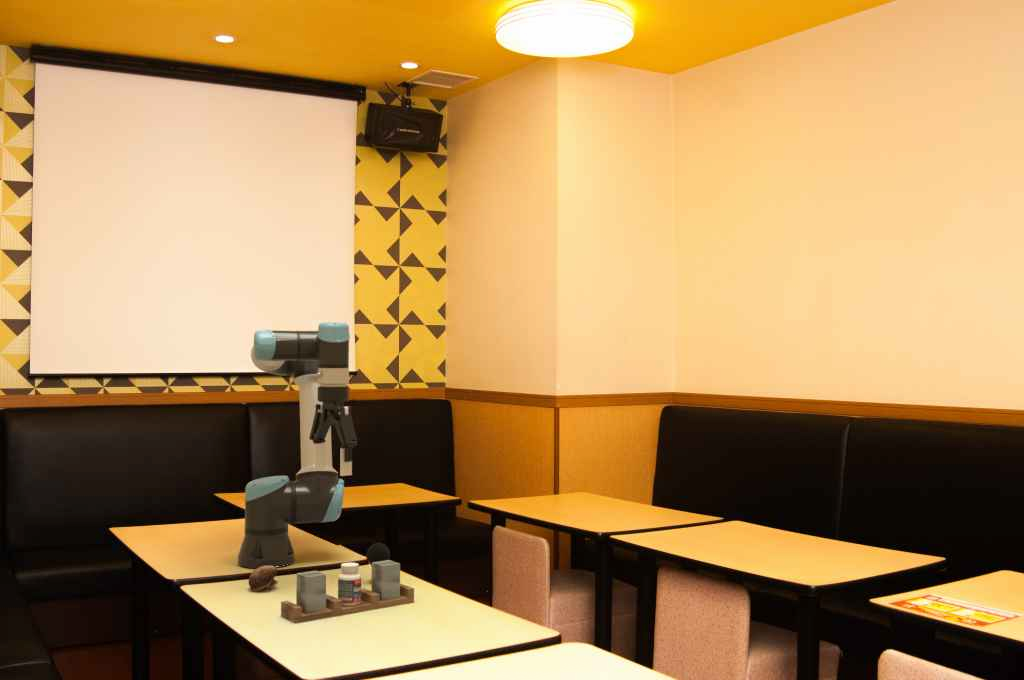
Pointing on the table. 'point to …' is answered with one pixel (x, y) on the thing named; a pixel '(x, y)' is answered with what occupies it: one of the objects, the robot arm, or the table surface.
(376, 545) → the black round piece
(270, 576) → the mushroom
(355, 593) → the pill bottle
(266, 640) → the table surface
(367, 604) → the rail
